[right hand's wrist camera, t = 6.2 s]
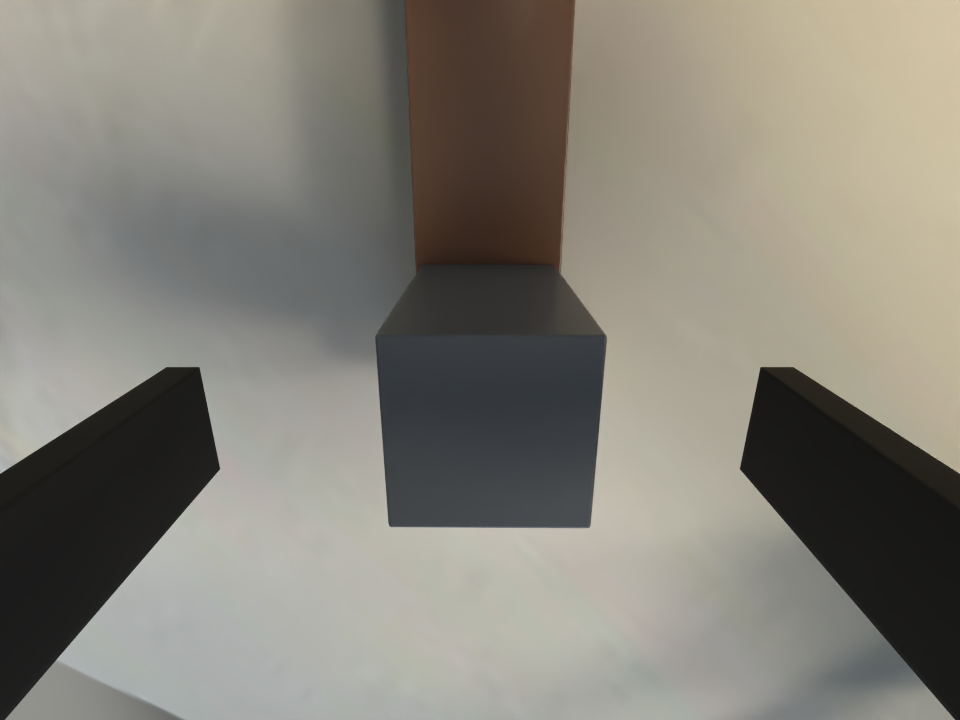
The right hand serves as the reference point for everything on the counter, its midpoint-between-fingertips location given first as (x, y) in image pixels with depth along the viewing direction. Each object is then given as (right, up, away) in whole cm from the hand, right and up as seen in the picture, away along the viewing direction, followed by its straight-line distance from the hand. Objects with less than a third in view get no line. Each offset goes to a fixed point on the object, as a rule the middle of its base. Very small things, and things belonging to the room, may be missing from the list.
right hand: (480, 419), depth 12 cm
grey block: (0, +3, +8) cm, 8 cm away
